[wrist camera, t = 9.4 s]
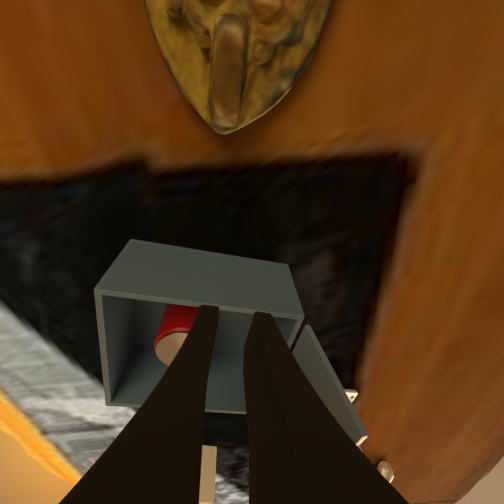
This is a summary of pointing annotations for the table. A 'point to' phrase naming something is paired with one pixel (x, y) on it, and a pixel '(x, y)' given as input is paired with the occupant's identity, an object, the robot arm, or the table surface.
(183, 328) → the can
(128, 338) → the carton
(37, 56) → the table surface
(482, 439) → the table surface
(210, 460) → the tan cube
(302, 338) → the carton flap
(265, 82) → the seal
